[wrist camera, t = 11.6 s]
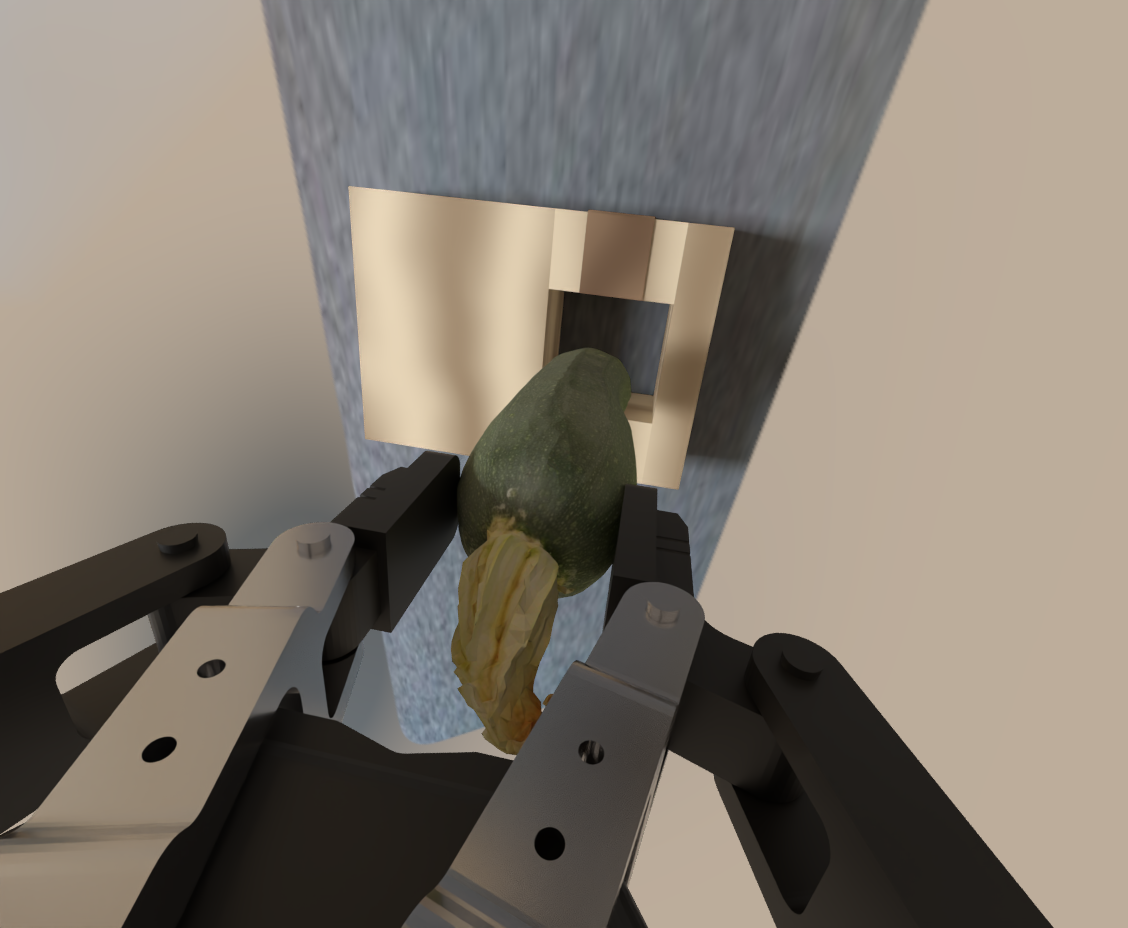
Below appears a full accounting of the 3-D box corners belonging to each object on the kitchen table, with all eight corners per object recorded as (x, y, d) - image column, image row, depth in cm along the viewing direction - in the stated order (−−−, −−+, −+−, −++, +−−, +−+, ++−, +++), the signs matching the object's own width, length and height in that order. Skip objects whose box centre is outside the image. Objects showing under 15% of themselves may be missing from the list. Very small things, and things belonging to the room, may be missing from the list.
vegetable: (539, 351, 25) (246, 659, 8) (613, 295, 24) (463, 518, 6) (594, 423, 26) (449, 845, 9) (668, 374, 25) (682, 768, 7)
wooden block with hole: (403, 412, 35) (364, 440, 31) (395, 189, 30) (347, 183, 25) (675, 455, 33) (677, 492, 29) (723, 225, 28) (735, 225, 23)
